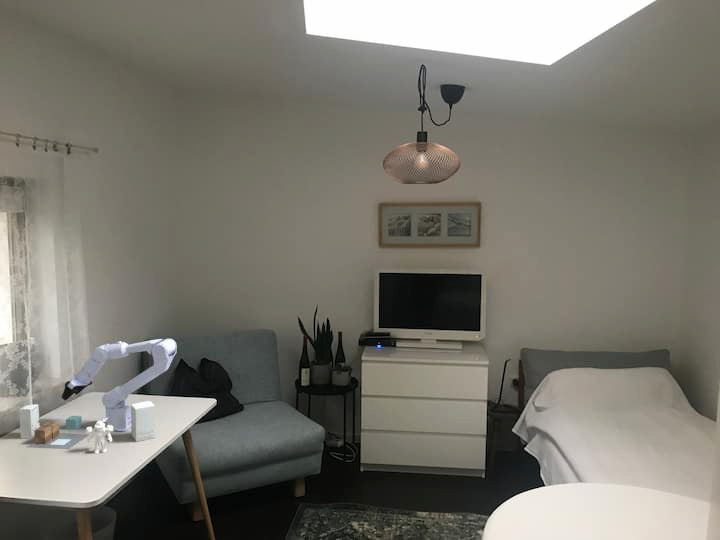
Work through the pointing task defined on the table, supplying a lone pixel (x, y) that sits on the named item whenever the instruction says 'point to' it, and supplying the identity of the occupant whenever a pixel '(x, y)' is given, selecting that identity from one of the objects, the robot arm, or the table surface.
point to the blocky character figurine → (100, 435)
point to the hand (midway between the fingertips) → (69, 395)
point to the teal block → (73, 422)
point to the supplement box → (143, 421)
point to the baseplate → (61, 441)
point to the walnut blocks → (46, 432)
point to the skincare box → (29, 420)
